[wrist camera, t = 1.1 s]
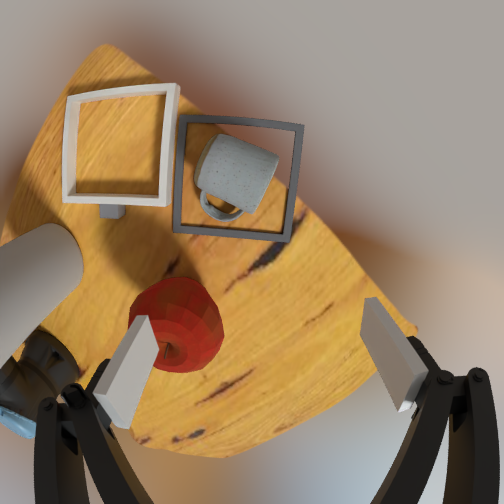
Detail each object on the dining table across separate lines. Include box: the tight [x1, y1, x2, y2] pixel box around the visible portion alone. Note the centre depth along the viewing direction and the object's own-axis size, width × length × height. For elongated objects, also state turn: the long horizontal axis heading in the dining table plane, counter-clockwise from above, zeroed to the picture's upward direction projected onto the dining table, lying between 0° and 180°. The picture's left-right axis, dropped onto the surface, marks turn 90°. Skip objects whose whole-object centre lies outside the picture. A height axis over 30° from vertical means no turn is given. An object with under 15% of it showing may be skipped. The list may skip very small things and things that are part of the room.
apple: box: [128, 277, 224, 373], centre depth 34 cm, size 12×12×14 cm
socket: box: [62, 83, 180, 219], centre depth 31 cm, size 17×18×2 cm
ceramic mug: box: [194, 134, 279, 222], centre depth 31 cm, size 11×8×8 cm
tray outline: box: [173, 115, 304, 243], centre depth 34 cm, size 16×16×1 cm
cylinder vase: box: [0, 223, 83, 369], centre depth 26 cm, size 12×12×25 cm
